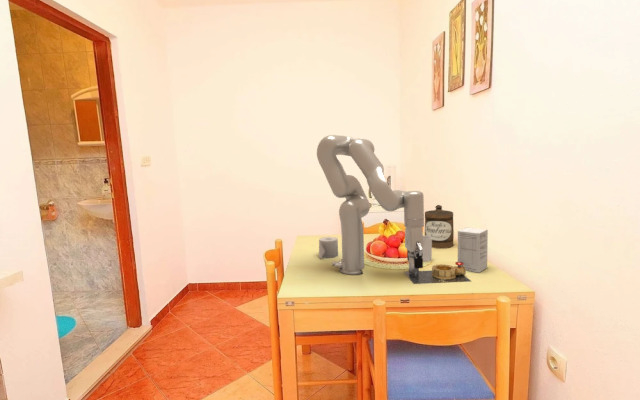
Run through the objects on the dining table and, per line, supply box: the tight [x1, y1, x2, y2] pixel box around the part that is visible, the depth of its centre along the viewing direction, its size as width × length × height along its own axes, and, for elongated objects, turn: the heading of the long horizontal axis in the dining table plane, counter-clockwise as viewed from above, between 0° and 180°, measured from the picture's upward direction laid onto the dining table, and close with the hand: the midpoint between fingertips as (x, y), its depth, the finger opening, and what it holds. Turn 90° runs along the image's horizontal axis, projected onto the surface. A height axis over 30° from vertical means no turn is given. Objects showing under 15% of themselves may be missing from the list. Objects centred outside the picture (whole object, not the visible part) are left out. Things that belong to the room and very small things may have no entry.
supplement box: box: [457, 227, 489, 274], centre depth 150 cm, size 10×9×17 cm
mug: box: [423, 235, 433, 263], centre depth 162 cm, size 10×7×12 cm, turn 161°
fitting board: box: [404, 261, 472, 285], centre depth 138 cm, size 22×14×7 cm, turn 91°
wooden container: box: [424, 204, 455, 249], centre depth 189 cm, size 15×15×22 cm
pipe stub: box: [408, 252, 420, 276], centre depth 141 cm, size 5×5×9 cm
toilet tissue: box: [318, 236, 339, 260], centre depth 176 cm, size 9×13×9 cm
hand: (414, 264), depth 141 cm, fingers open, 9 cm apart
